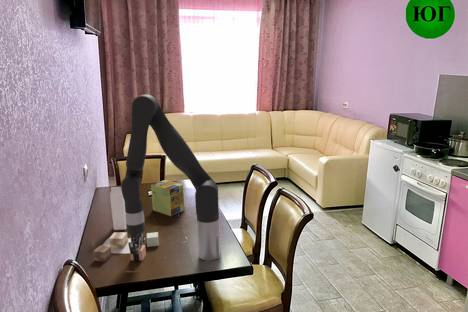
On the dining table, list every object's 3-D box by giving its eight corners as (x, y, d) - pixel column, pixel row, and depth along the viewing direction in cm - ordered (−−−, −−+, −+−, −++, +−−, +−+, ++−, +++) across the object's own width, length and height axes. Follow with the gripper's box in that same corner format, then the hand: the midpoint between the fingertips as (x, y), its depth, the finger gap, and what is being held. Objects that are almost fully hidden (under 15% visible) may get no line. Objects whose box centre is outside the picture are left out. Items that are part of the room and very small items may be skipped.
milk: (116, 225, 188) (112, 185, 183) (128, 225, 189) (124, 184, 183) (113, 231, 182) (108, 189, 177) (126, 230, 183) (121, 188, 177)
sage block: (158, 241, 171) (157, 232, 169) (158, 246, 166) (158, 236, 165) (147, 243, 170) (146, 233, 168) (147, 248, 165) (146, 238, 164)
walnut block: (111, 257, 158) (110, 246, 157) (105, 263, 153) (104, 252, 152) (101, 255, 159) (100, 245, 158) (94, 261, 155) (93, 251, 153)
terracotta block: (146, 255, 159) (145, 245, 157) (142, 261, 154) (141, 250, 153) (134, 255, 159) (133, 244, 158) (131, 261, 154) (130, 250, 153)
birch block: (128, 242, 169) (127, 232, 168) (123, 248, 164) (122, 238, 162) (115, 242, 170) (114, 232, 168) (110, 248, 164) (109, 238, 163)
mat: (145, 239, 173) (145, 238, 173) (136, 254, 159) (136, 253, 159) (108, 239, 174) (108, 238, 174) (95, 254, 160) (95, 253, 160)
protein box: (171, 216, 198) (169, 189, 194) (152, 210, 207) (150, 184, 203) (185, 210, 206) (183, 184, 202) (166, 204, 215) (164, 179, 211)
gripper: (138, 228, 145) (142, 266, 149) (148, 213, 159) (151, 249, 163) (120, 228, 145) (124, 266, 150) (131, 213, 159) (135, 249, 163)
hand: (138, 257), depth 156 cm, fingers closed on terracotta block, 5 cm apart
